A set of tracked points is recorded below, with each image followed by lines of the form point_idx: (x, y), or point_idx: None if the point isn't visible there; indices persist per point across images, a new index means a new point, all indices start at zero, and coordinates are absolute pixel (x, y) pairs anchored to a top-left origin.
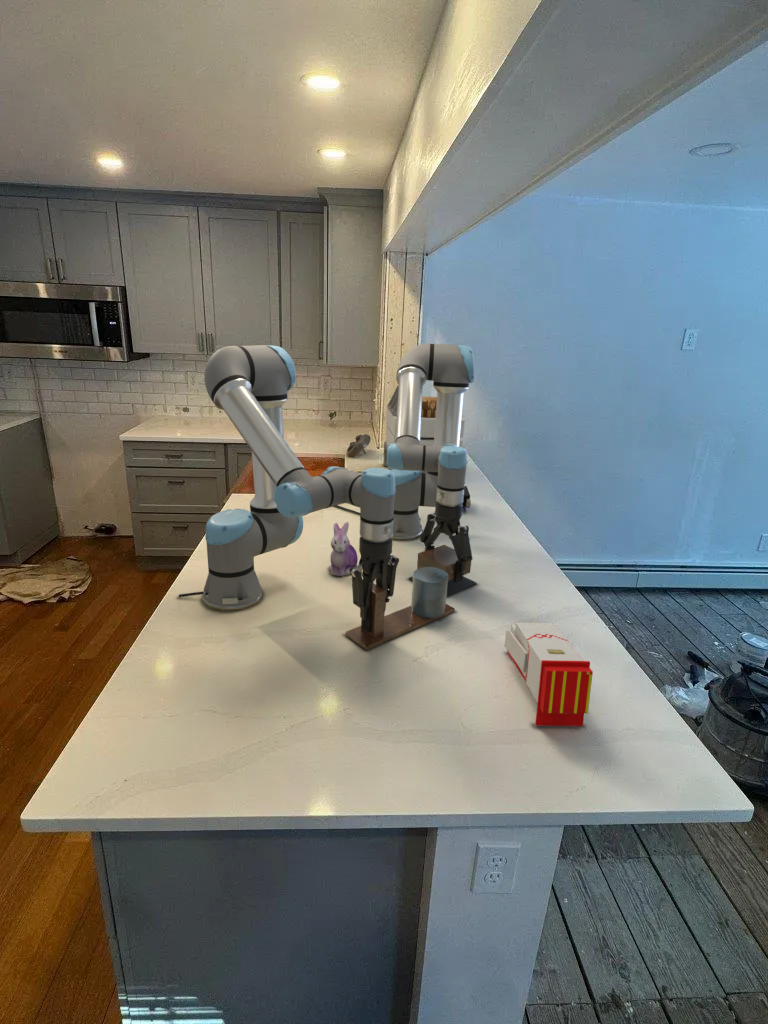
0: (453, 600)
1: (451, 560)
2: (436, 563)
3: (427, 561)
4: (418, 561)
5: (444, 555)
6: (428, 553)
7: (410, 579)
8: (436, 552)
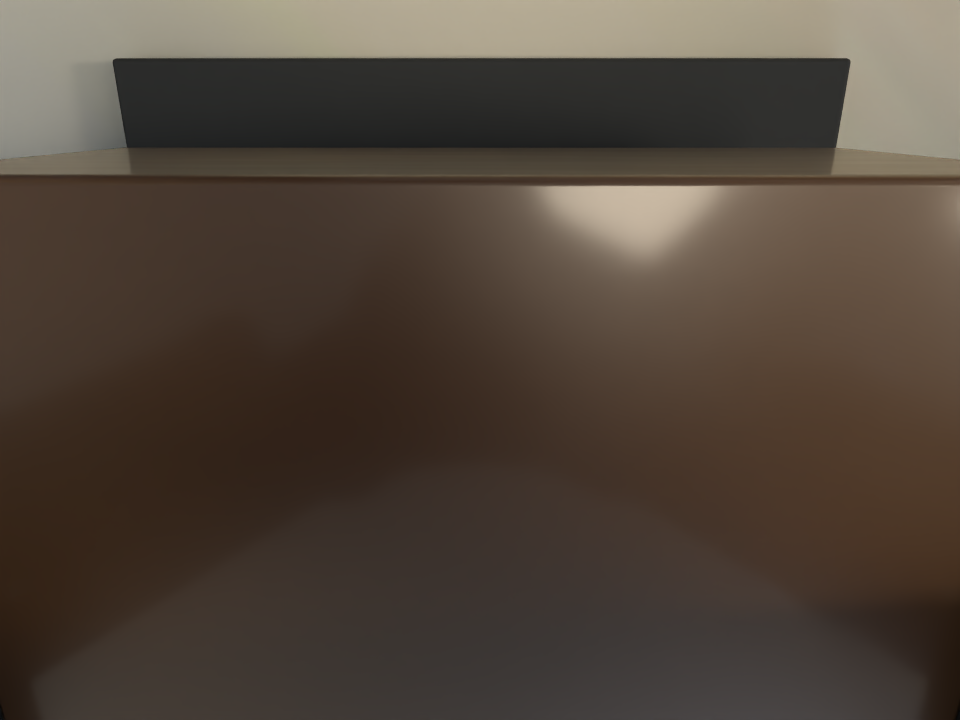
0: (13, 134)
1: (127, 595)
2: (246, 170)
3: (622, 163)
4: (902, 157)
5: (461, 659)
6: (846, 430)
7: (807, 59)
8: (725, 633)
